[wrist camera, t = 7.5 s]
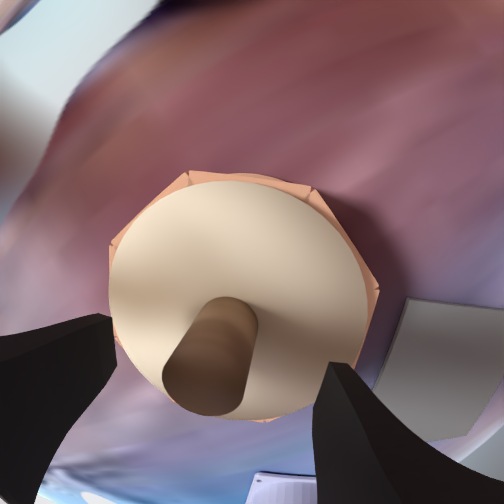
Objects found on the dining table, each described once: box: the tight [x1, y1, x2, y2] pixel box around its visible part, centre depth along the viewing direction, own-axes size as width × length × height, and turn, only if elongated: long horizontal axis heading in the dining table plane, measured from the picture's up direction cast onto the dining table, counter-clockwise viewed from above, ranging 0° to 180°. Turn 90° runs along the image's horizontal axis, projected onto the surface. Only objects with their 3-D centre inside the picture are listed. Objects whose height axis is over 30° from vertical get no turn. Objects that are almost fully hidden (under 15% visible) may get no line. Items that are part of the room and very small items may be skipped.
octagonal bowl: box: [109, 170, 380, 423], centre depth 14 cm, size 12×12×4 cm
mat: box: [372, 297, 504, 442], centre depth 15 cm, size 12×12×1 cm
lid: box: [109, 181, 368, 420], centre depth 10 cm, size 11×11×5 cm
